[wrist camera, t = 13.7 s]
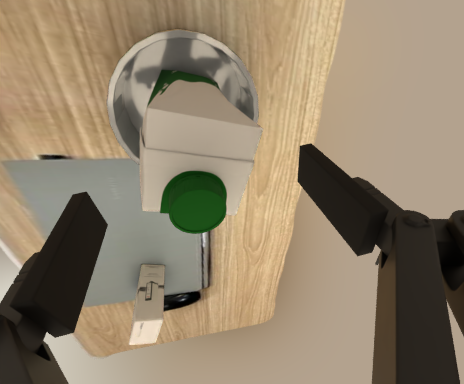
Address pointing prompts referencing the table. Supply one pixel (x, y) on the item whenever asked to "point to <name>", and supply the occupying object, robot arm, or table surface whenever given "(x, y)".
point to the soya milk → (194, 152)
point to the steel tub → (179, 59)
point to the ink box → (148, 305)
